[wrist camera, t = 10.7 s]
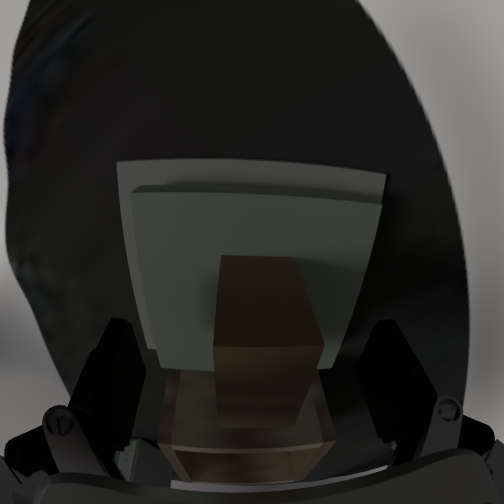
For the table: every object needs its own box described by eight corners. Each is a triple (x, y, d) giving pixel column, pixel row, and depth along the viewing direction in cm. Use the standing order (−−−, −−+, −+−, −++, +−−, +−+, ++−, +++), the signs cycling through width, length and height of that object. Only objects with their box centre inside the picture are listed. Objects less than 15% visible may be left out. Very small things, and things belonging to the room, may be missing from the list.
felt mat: (381, 172, 13) (386, 174, 12) (336, 345, 18) (338, 350, 18) (120, 160, 12) (116, 162, 11) (149, 343, 17) (148, 348, 17)
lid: (361, 190, 12) (456, 263, 6) (323, 343, 17) (352, 437, 11) (147, 179, 12) (63, 252, 5) (167, 341, 16) (146, 441, 10)
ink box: (119, 436, 26) (103, 523, 14) (140, 436, 25) (127, 531, 13) (152, 456, 29) (144, 534, 17) (174, 456, 28) (169, 538, 16)
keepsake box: (313, 355, 18) (336, 440, 12) (291, 418, 23) (301, 480, 17) (172, 354, 18) (156, 443, 11) (188, 418, 22) (183, 482, 16)
